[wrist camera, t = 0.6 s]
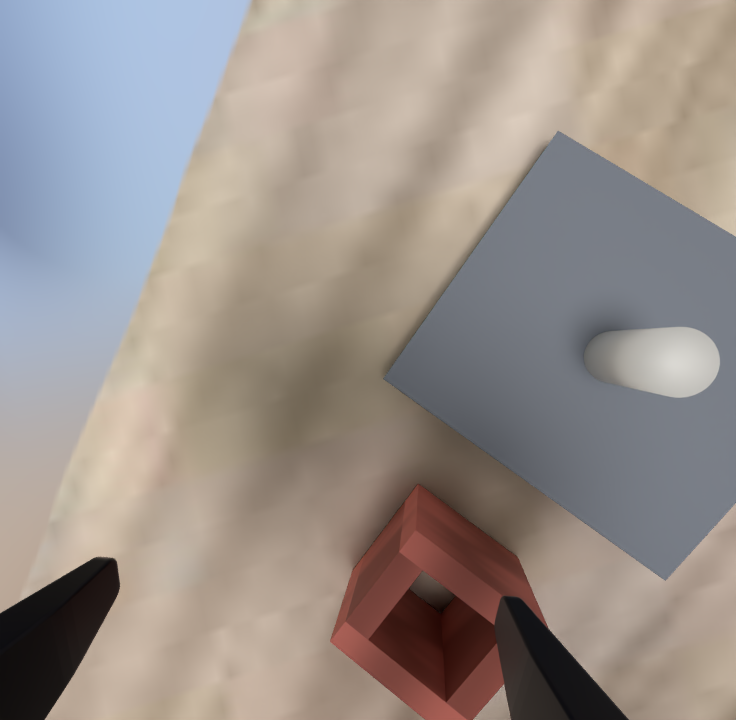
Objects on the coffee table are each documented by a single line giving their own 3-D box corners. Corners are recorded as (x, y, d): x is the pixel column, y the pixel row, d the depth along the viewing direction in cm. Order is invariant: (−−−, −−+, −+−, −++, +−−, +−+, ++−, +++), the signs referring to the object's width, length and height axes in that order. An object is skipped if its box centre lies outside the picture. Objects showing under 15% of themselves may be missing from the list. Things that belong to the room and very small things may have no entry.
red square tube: (517, 557, 19) (549, 631, 14) (446, 644, 20) (453, 742, 15) (418, 483, 20) (415, 530, 15) (352, 570, 21) (329, 641, 16)
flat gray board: (850, 331, 17) (1087, 325, 11) (645, 561, 18) (751, 666, 12) (547, 148, 18) (606, 53, 12) (386, 376, 20) (369, 390, 14)
